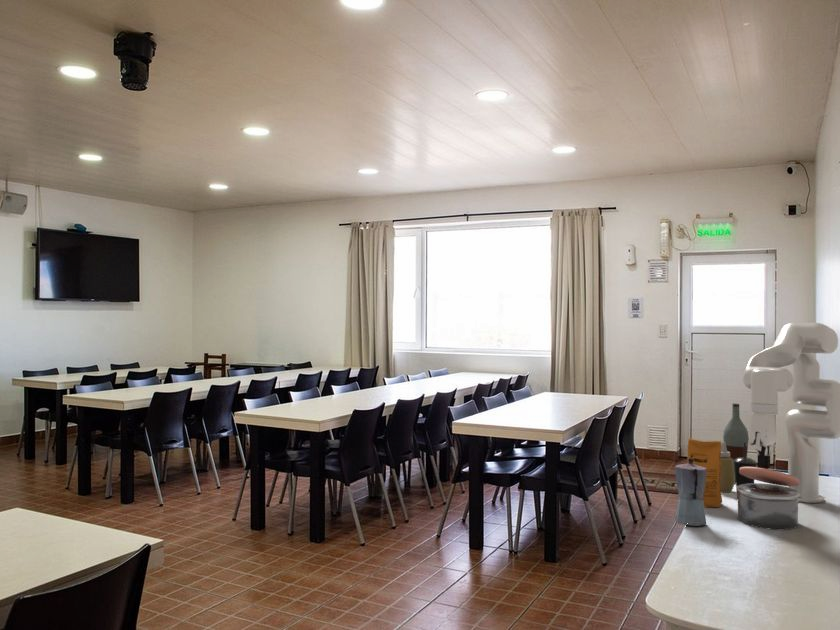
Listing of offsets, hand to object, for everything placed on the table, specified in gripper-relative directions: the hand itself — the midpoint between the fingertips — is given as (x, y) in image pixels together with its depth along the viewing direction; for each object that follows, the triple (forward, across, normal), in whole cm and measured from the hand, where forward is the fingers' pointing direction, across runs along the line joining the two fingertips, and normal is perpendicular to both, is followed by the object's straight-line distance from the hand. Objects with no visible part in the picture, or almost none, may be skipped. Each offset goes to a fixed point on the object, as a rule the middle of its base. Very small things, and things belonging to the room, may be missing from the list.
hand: (763, 467), depth 222 cm
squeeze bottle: (+17, -33, -26) cm, 45 cm away
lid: (+4, -4, 0) cm, 5 cm away
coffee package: (+18, -10, -24) cm, 31 cm away
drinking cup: (+17, -26, -16) cm, 35 cm away
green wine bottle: (+17, -54, -30) cm, 64 cm away
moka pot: (+18, +16, -16) cm, 29 cm away
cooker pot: (+17, -3, 0) cm, 18 cm away
